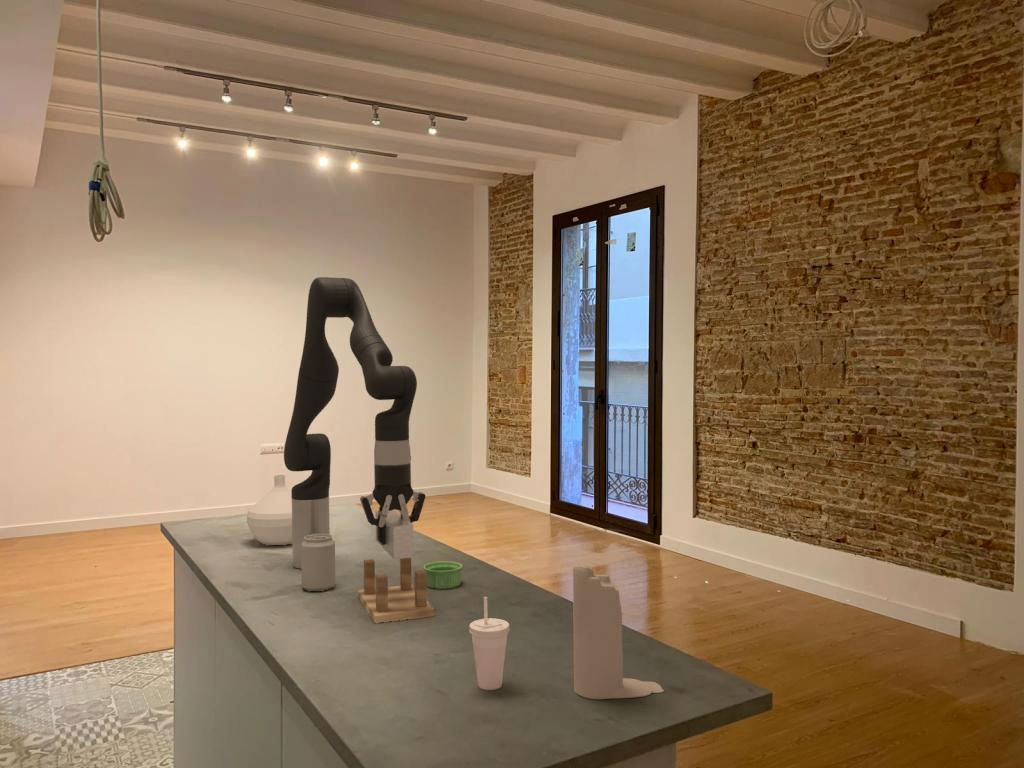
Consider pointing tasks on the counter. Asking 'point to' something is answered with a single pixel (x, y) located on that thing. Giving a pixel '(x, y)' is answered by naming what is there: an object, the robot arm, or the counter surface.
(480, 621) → the smoothie
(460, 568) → the ramekin
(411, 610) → the rack
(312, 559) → the can
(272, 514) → the vase
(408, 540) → the pale beige plank
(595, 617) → the candle
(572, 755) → the counter surface
